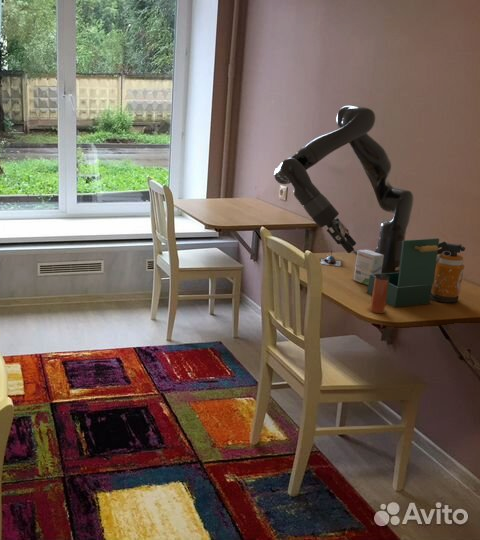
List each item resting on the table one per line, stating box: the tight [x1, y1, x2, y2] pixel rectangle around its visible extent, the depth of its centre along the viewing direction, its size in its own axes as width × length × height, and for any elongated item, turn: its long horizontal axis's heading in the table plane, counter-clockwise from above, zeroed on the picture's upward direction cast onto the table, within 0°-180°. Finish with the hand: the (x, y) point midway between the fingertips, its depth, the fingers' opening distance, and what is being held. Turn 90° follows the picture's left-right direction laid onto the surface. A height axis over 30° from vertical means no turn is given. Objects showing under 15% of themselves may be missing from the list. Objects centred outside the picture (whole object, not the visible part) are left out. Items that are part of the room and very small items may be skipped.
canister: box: [430, 241, 466, 303], centre depth 206 cm, size 9×11×20 cm
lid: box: [398, 237, 440, 287], centre depth 197 cm, size 15×14×5 cm
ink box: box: [353, 249, 384, 286], centre depth 223 cm, size 8×5×12 cm, turn 25°
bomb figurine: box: [320, 249, 342, 267], centre depth 249 cm, size 8×8×6 cm
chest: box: [366, 272, 432, 308], centre depth 209 cm, size 15×14×7 cm
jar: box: [369, 274, 390, 314], centre depth 196 cm, size 4×4×12 cm
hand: (352, 248), depth 196 cm, fingers open, 8 cm apart
